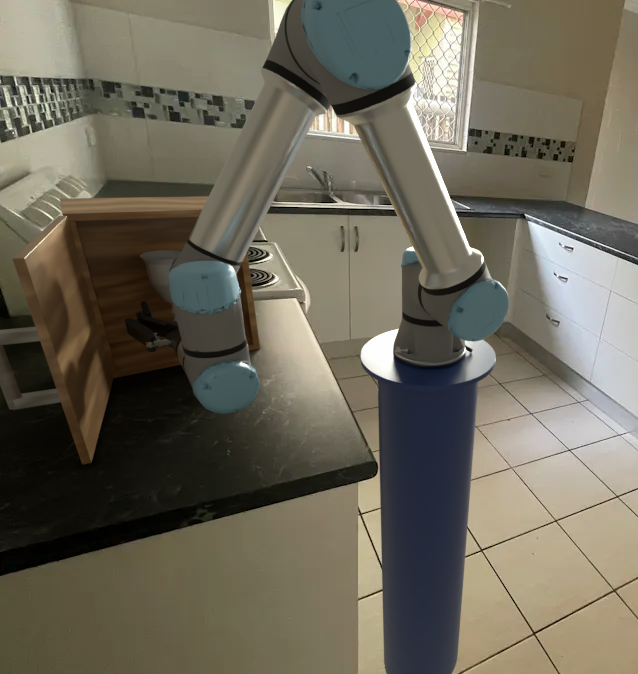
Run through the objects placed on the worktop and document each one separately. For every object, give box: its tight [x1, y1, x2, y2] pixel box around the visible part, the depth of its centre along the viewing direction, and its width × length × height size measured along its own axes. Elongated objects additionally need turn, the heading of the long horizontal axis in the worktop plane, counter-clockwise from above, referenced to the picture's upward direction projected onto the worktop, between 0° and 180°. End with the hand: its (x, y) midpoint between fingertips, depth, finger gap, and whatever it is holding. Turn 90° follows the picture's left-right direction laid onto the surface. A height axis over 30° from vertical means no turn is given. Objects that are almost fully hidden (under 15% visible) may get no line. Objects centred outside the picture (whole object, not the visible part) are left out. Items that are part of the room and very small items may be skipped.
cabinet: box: [59, 195, 261, 379], centre depth 89 cm, size 14×24×28 cm, turn 131°
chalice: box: [140, 250, 182, 349], centre depth 90 cm, size 7×7×18 cm
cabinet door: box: [0, 215, 114, 466], centre depth 65 cm, size 6×24×28 cm, turn 31°
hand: (178, 304), depth 88 cm, fingers open, 10 cm apart
